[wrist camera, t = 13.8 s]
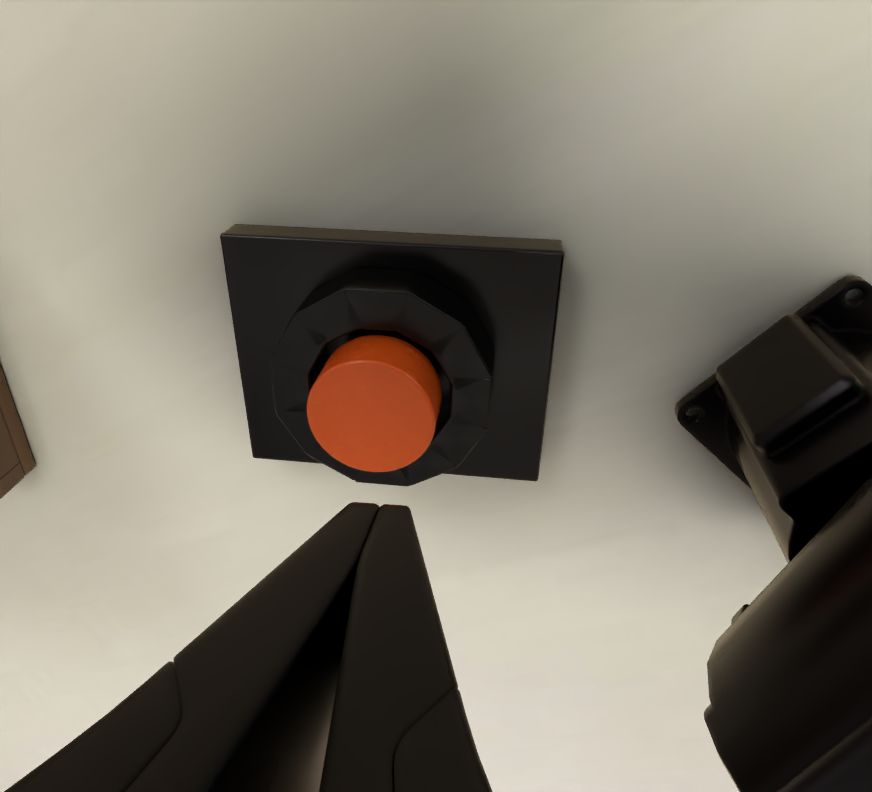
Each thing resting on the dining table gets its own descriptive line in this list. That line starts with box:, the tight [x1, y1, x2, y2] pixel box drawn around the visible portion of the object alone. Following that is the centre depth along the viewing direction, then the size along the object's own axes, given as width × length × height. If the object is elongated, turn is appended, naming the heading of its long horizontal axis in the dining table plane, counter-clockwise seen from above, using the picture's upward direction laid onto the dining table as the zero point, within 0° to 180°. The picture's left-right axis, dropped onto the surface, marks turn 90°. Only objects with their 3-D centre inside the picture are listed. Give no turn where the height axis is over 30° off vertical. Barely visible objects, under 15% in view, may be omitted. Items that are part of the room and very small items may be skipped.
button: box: [307, 335, 442, 472], centre depth 19 cm, size 4×4×2 cm
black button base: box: [220, 224, 565, 486], centre depth 20 cm, size 10×8×3 cm
